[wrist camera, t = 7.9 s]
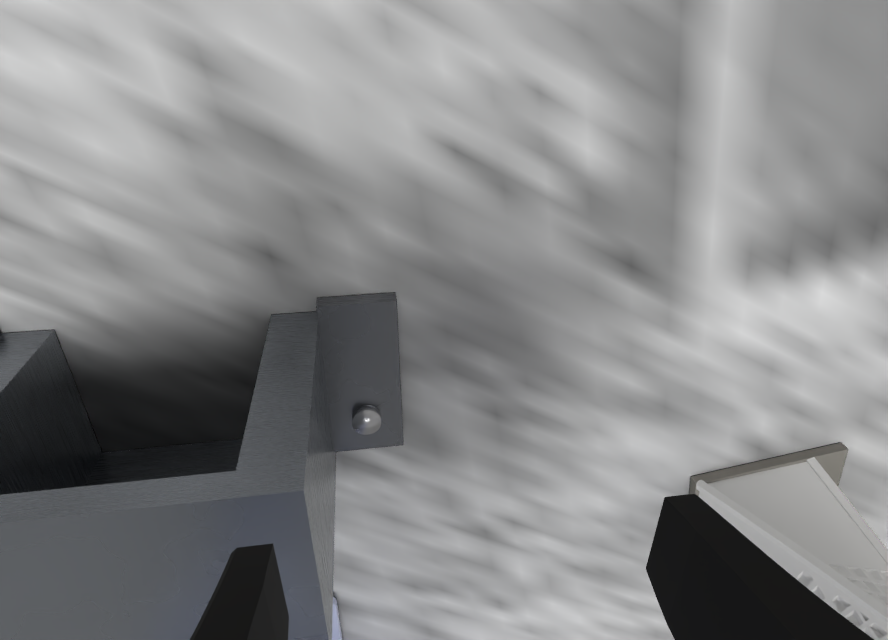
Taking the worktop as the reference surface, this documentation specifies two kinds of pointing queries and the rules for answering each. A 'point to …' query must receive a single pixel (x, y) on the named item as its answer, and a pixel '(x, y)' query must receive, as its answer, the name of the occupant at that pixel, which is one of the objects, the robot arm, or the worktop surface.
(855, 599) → the skyscraper
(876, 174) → the worktop surface
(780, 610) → the robot arm
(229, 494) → the bracket sleeve
